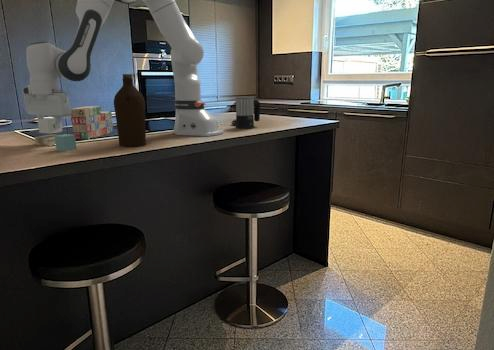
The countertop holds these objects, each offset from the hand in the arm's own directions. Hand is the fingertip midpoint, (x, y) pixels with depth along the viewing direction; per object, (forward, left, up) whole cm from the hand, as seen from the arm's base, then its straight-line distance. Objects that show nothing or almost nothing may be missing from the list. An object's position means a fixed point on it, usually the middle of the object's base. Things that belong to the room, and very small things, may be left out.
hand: (50, 127), depth 135 cm
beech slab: (0, 0, -6) cm, 6 cm away
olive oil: (-29, -11, -6) cm, 31 cm away
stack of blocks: (+2, -21, -6) cm, 22 cm away
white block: (0, 0, -2) cm, 2 cm away
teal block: (-15, +6, -6) cm, 17 cm away
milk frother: (-42, -74, -6) cm, 85 cm away
